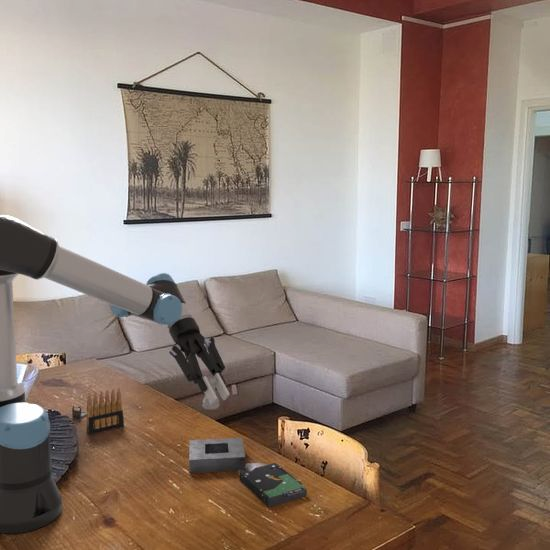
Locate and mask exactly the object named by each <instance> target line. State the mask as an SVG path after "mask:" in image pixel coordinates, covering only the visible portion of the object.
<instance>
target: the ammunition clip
mask: <svg viewBox="0 0 550 550" xmlns="http://www.w3.org/2000/svg"><path fill="white" fill-rule="evenodd" d="M86 400H87V401H86V403H87V404H86V412H87V416H86V434H87V435H93V434H98V433H102V432H106V431H110V430H115V429H119V428H123V427H125V420H124V411H123V401H122V393H121V389H120V387H117V390H116V393H115V390H114V388H112V389H111V393H110V392H109V390H108V389H106V391H105V395H104V393H103V391H102V390H100V392H99V399H98V395H97V393H96V391H95V392H94V393H93V399H92V395H91V394H90V393H88V394H87V398H86ZM98 400H99V401H98Z"/></svg>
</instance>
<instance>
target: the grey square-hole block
mask: <svg viewBox="0 0 550 550" xmlns="http://www.w3.org/2000/svg"><path fill="white" fill-rule="evenodd" d="M188 452H189V455H188V469H189V470H188V471H189V473H188V474H202V473H203V474H204V473H216V472H217V473H218V472H220V473H221V472H234V471H235V472H236V471H238V472H240V471H245V470H246V453H245V452H246V451H245V448H244V441H243V437H228V438H227V437H225V438H209V439H208V438H207V439H204V438H203V439H190V440H189V451H188Z"/></svg>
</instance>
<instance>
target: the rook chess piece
mask: <svg viewBox="0 0 550 550" xmlns="http://www.w3.org/2000/svg"><path fill="white" fill-rule="evenodd" d="M205 376H206V375H205ZM206 377H207V379H208V381H209V383H210V385H211V387H212V389H213V391H214V393H215V395H216V397H217V399H216V400H215V402H214V403H213V404H210V402H209V400H208V399H207V397H206V395H204V397H203V400H202V405H201V406H202V408H203V409H205V410H207V411H209V410H210V411H212V410H217V409H218V408H219V407H220V400H219V398H218V396H217V392H216V385H215V383H216V381H217V380H216V379H215V377H214V376H213V375H207V376H206Z"/></svg>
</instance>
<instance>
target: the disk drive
mask: <svg viewBox="0 0 550 550" xmlns="http://www.w3.org/2000/svg"><path fill="white" fill-rule="evenodd" d="M239 481H240V483H242V484H243V485H244V486H245V487H246V488H247V489H248V490H249V491H250V492H251V493H253V494H254V496H256V497H257V498H258V499H259V500H260V501H261V502H262V503H263V504H265V506H267V507H268V508H272V507H275V506H278V505H282V504H285V503H288V502H291V501H295V500H298V499H302V498H305V497H307V494H308V493H307V492H308V490H307V488H306V486H305V485H304V484H303V483H302V482H301V481H299V480H298V479H297V478H296V477H294V476H293V475H292V474H291V473H289V472H288V471H286V470H285V469H284V468H283V467H281V466H280V465H279V464H277V463H276V462H274V463H273V462H272V463H270V464H265V465H262V466H256V467H255V468H253V469H252V470H249V469H245V470H240V471H239Z"/></svg>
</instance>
